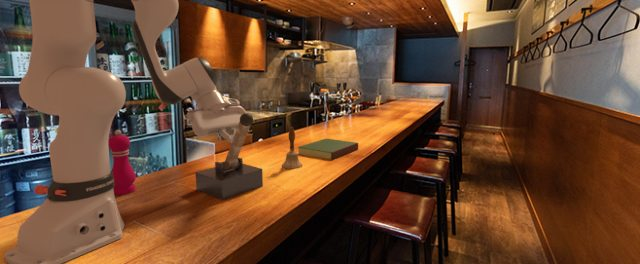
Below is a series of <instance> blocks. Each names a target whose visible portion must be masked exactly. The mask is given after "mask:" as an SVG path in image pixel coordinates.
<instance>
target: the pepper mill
mask: <svg viewBox="0 0 640 264" xmlns="http://www.w3.org/2000/svg"><path fill="white" fill-rule="evenodd" d="M130 146H131V140H130V138H129V137H128V136H127V135H124V134H122V131H121V130H120V129H116V130H115V131H114V135H113V136H111V137H109V140H108V147H109V149H110V150H111V151H110V156H111V157H112V168H111V171H112V172H113V176H114V184H115V186H114V189H113V190H114V195H118V196H123V195H127V194H131V193H134V192H135V191H136V185H135V181H136V180H137V179H136V177H137V176H136V173H135V171H134V169H133V167H132V165H131V164H130V160H129V154H130V149H129V148H130Z"/></svg>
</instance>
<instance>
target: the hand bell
mask: <svg viewBox="0 0 640 264" xmlns="http://www.w3.org/2000/svg"><path fill="white" fill-rule="evenodd" d="M288 139H289V151H288V152H287V153H286V155H285V156H286V157H285V161H284V162H283V163H282V164H281V167H282V168H284V169H290V170H292V169H293V170H294V169H300V168H301V167H302V166H303V163H302V162H301V161H300V159H299V152H297V151H295V140H296V132H295V129H294V126H290V127H289V130H288Z"/></svg>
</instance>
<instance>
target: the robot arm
mask: <svg viewBox="0 0 640 264" xmlns="http://www.w3.org/2000/svg"><path fill="white" fill-rule="evenodd" d="M130 1H131V3H132V5H133V7H134V12H135V19H134V20H133V21H132V22H131V25H132V30H133V35H134V37H135V39H136V41H137V46H138V48H139V52H140V53H141V56H142V58H143V61H144V64H145V66H146V69H147V71H148V73H149V76H150V79H151V82H152V88H153V91H154V93H155V95H156V97H157V98H158V99H159V100H160V101H161V102H162V103H164V104H166V105H173V106H175V105H177V104H179V103H180V102H182V101H184V100H185V99H186V98H189V97H190V98H191V99H192V100H193V101H194V102H195V106H196V108H197V109H190V110H188V111H187V112H186V117H187V119H188V121H189V123H190V125H191V128H192V132H193V133H194V135H196V136H197V137H204V136H211V135H217V134H219V136H220V137H222V138H224V139H225V140H226V141H227V143H232V141H233V138H234V135H235V133H236V130H237V127H238V125H239V122H240V117H241V115H242V114H244V113H248V112H247V111H246V110H245V108H243V106H241V105H240V104H241V102H240V101H239V100H238V99H236V98H231V97H228V96H224V95H222V93H220V92H219V90H218V89H217V84H218V80H219V79H218V78H219V77H218V74H217V72H215V70H214V68H212V66H211V64H210V62H209V60H207V59H205V58H202V57H199V56H197V57H194V58H191V59H188V60H187V61H184V62H183V63H181V64H178V65H176V66H175V67H172V68H169V69H168V70H164V69H163V66H162V64H161V61H160V58H159V55H158V52H157V50H156V43H157V40H158V39H159V38H160V36H161V35H162V33H163V32H164V31H165V30H166V29H168V27H170V26H171V24H172V23H174V21H175V19H176V17H177V15H178V12H179V7H180V6H179V5H180V4H179V0H130ZM29 10H30V19H31V28H32V41H31V42H32V44H31V52H30V57H29V63H28V66H27V67H28V68H27V71H26V72H25V74H24V76H23V77H22V78H21V80H20V81H19V85H18V92H19V96H20V98H21V100H22V101H23V103H25V105H27V107H30V108H31V109H34V110H35V111H37V112H40V113H42V114H46V115H49V116H50V115H51V116H58V117H59V119H58V128H57V132H56V135H55V138H54V139H53V140H52V141H51V142H50V144H49V147H48V151H49V153H48V154H49V159H50V165H51V172H52V173H51V174H52V178H53V179H52V180H51V181H50V184H49V186H47V185H41V184H38V185H36V186H35V187H34V190H33V192H34V194H36V195H41V196H46V199H45V200H44V202H43V203H41V204H40V206H39V207H37V209H36V210H35V211H34V212H33V213H32V214H31V215H30V216H29V217H27V219H26V220H25V221H24V222H22V223H21V225H20V226H19V228H18V232H17V243H16V244H17V245H16V246H14V247H12V248H10V249H8V250H6V251H5V253H4V260H5V262H6V263H7V264H64V263H65V262H68V261H70V260H72V259H75V258H78V257H80V256H82V255H85V254H87V253H90V252H92V251H94V250H96V249H99V248H101V247H104V246H106V245H108V244H110V243H113V242H115V241H117V240H120V239H122V238H123V237H124V233H123V230H124V229H125V226H126V225H125V222H124V220H123V218H122V216H121V214H120V211H119V206H118V204H117V201H116V196H115V194H114V190H113V189H114V186H115V184H114V176H113V172H112V168H111V161H110V160H111V159H110V150H109V149H110V148H109V147H108V140H109V139H110V131H111V127H112V123H113V121H114V118H115V116H116V115H117V113H119V111H120V110H122V108H123V106H124V104H125V102H126V99H127V98H126V97H127V91H126V87H125V83H124V82H123V81H122V79H120V77H119V76H118V75H116V74H114V73H113V72H110V71H106V70H104V69H101V68H98V67H94V66H93V67H92V66H91V67H90V66H86V63H87V57H88V55H89V52H90V50H91V48H92V47H93V46H94V45H95V43H96V41H97V36H98V35H97V26H96V16H95V4H94V0H29Z"/></svg>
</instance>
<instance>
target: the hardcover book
mask: <svg viewBox="0 0 640 264" xmlns="http://www.w3.org/2000/svg"><path fill="white" fill-rule="evenodd" d="M297 148H298V155H304V156H309V157H315V158H316V157H317V158H321V159H326V160H332V161H333V160H335V159H338V158H340V157H342V156H345V155H347V154H350V153H352V152H354V151H355V152H356V151H357V150H359V142H356V141H349V140H348V141H347V140H341V139H332V138H323V139H319V140H317V141H313V142H310V143H307V144H303V145H300V146H297Z"/></svg>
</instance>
